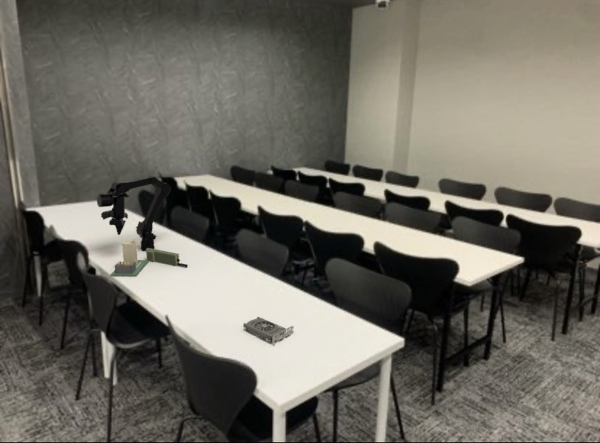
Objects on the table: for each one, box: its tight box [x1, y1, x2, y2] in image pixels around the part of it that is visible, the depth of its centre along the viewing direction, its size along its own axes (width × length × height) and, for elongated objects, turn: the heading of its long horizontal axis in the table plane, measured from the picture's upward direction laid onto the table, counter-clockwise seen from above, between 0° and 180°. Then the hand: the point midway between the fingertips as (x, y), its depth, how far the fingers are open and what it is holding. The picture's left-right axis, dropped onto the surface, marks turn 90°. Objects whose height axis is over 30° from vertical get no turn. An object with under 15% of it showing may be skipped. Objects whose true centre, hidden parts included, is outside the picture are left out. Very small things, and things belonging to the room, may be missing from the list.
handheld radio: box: [145, 248, 188, 268], centre depth 234 cm, size 7×3×25 cm
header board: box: [110, 259, 150, 278], centre depth 226 cm, size 20×12×6 cm, turn 1°
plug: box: [121, 239, 138, 265], centre depth 226 cm, size 5×5×13 cm
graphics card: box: [243, 316, 294, 346], centre depth 170 cm, size 17×4×12 cm
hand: (119, 234), depth 242 cm, fingers closed
